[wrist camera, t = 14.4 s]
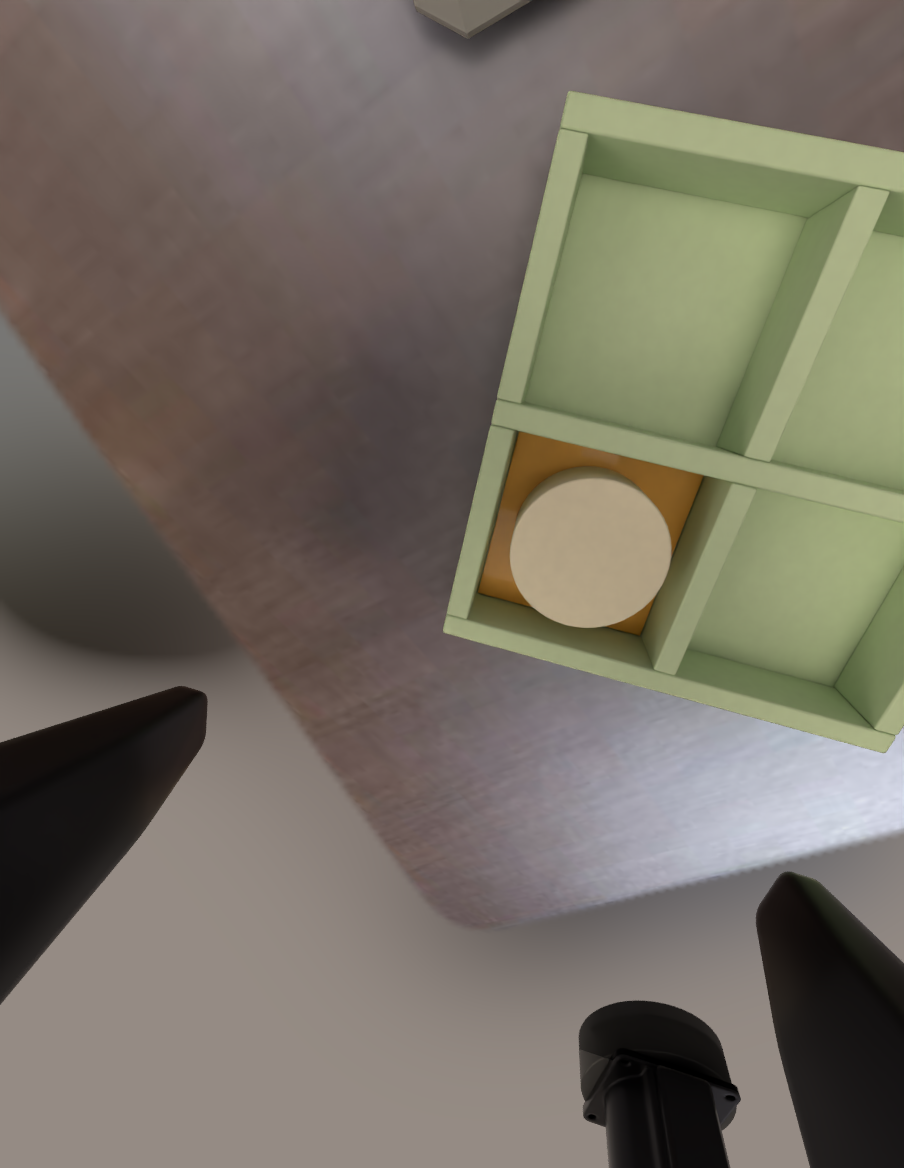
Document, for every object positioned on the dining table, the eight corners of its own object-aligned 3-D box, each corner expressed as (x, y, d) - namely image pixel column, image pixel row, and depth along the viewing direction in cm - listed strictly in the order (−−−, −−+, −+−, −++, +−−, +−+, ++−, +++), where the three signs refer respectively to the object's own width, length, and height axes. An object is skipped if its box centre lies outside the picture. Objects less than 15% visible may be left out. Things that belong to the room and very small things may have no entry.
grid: (835, 700, 19) (885, 754, 16) (456, 599, 20) (441, 633, 17) (1104, 250, 13) (1250, 214, 11) (564, 145, 14) (568, 88, 12)
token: (627, 614, 18) (639, 645, 16) (499, 580, 18) (492, 606, 16) (677, 485, 16) (697, 500, 14) (534, 450, 17) (533, 460, 15)
